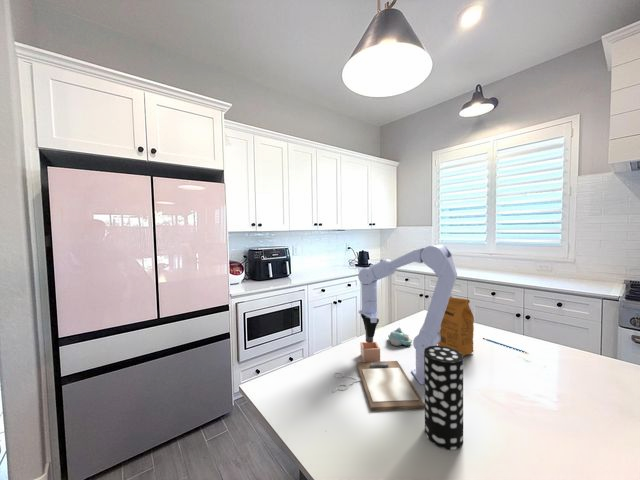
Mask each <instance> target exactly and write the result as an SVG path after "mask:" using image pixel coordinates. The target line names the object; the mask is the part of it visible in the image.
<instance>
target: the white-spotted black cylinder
mask: <svg viewBox="0 0 640 480" xmlns="http://www.w3.org/2000/svg"><path fill="white" fill-rule="evenodd" d="M423 385H424V404H425V409H424V433H425V436H426V438H427V439H428V440H429V441H430V442H431V443H432V444H434V445H435V446H436V447H438V448H441V449H444V450H448V451H454V450H458V449H460V448H462V447H463V444H464V356H463V355H462V354H461V353H460V352H459V351H457V350H455V349H452V348H449V347H445V346H438V345H437V346H429V347H427V348H425V350H424V384H423Z"/></svg>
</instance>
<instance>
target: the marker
mask: <svg viewBox="0 0 640 480" xmlns="http://www.w3.org/2000/svg"><path fill="white" fill-rule="evenodd" d="M365 318H368V317H365ZM365 328H366V325H365V326H364V329H365ZM365 342H368V343H372V342H374V337H368V335H367V330H366V331H365Z"/></svg>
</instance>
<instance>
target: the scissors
mask: <svg viewBox="0 0 640 480" xmlns="http://www.w3.org/2000/svg"><path fill="white" fill-rule="evenodd" d="M337 374H340V375H341V376H340V375H337ZM332 375H333V377H334V378H337V379H342V378H349V379H353V381H352V382H350V383H339V384H338V385H337V386H336V388H335V389H332V393H335V392H337V391H340V392H344V391H347V390H348V389H349V387H350V386H353V385H354V384H355V383H359V382H360V383H361V382H362V380H361V377H356V376H350V375H345V373H342V372H339V371H338V372H337V371H336V372H334V373H333V374H332ZM354 379H355V380H354ZM341 386H343V387H344V388H340V387H341Z"/></svg>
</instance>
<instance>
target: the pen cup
mask: <svg viewBox="0 0 640 480" xmlns="http://www.w3.org/2000/svg"><path fill="white" fill-rule="evenodd" d="M360 356H361V359H363V360H362V362H380V361H381V348H380V346H379V344H378V342H377V341H373V342H372V343H368V342H366V341H361V342H360Z"/></svg>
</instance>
